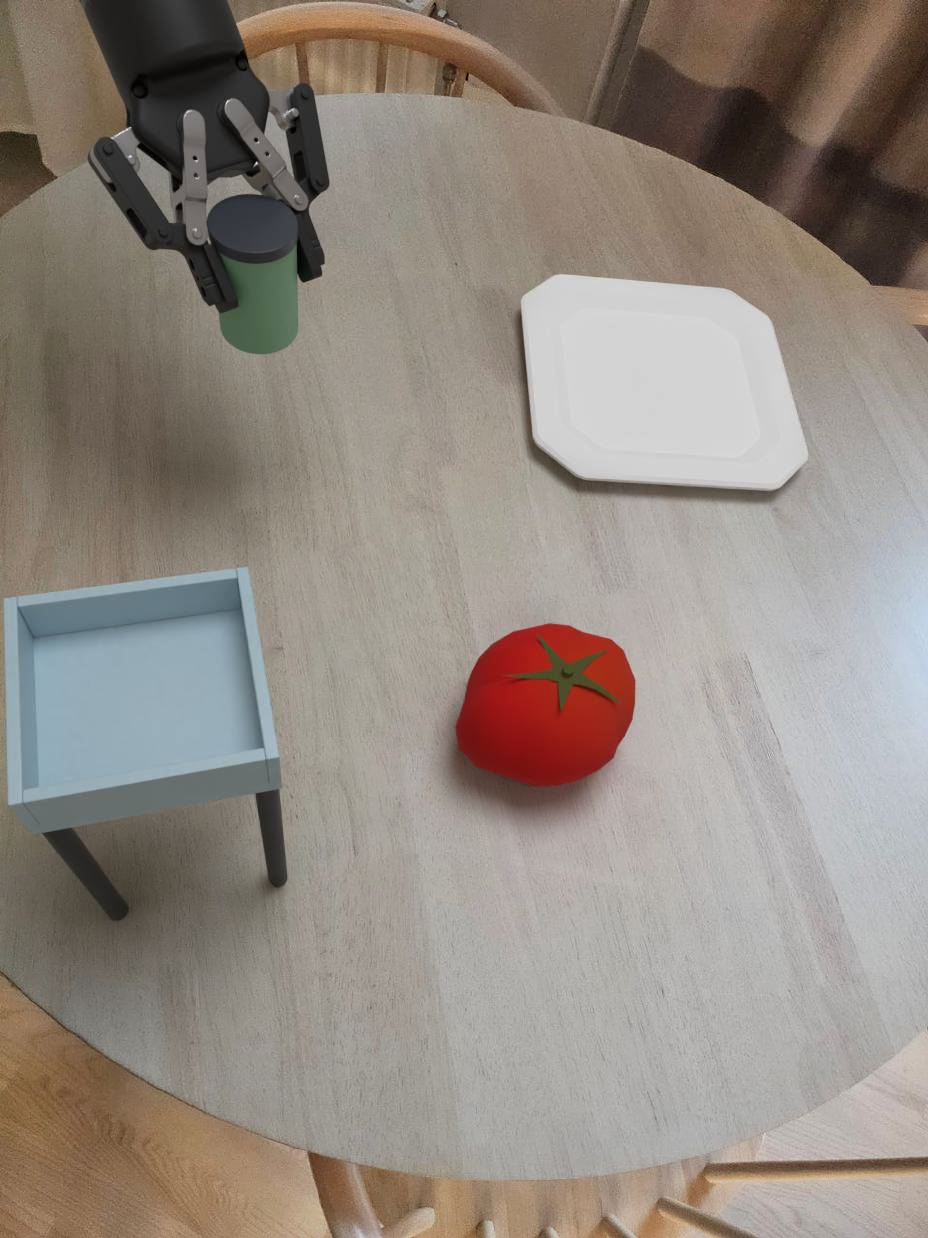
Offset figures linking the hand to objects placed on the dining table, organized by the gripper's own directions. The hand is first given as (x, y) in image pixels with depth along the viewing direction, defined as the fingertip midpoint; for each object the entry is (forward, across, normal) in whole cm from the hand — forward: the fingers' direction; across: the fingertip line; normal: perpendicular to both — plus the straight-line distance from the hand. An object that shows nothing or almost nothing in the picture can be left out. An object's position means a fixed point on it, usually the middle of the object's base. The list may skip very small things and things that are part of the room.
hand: (271, 293), depth 58 cm
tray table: (+29, -19, +1) cm, 34 cm away
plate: (+20, +36, +10) cm, 42 cm away
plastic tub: (+2, 0, +4) cm, 5 cm away
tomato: (+34, +4, -4) cm, 35 cm away
